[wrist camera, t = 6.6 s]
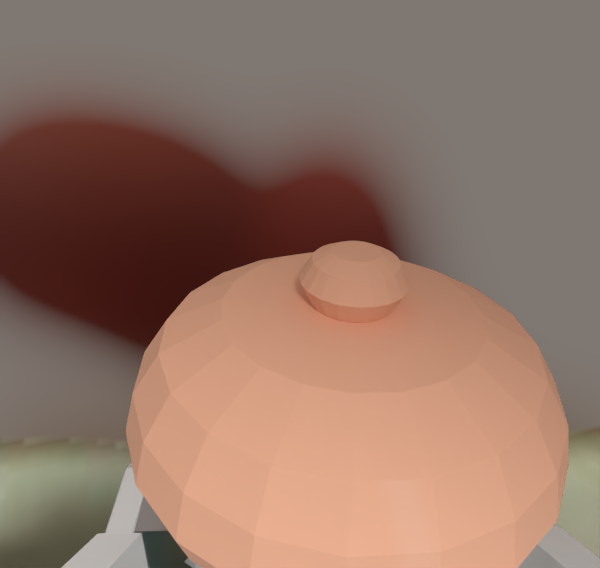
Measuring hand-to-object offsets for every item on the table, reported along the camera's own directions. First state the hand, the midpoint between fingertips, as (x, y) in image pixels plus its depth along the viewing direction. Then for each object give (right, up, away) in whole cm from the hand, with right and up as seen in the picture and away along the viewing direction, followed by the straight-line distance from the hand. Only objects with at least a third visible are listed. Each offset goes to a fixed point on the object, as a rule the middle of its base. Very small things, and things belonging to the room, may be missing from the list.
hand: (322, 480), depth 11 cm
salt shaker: (0, -12, +6) cm, 14 cm away
